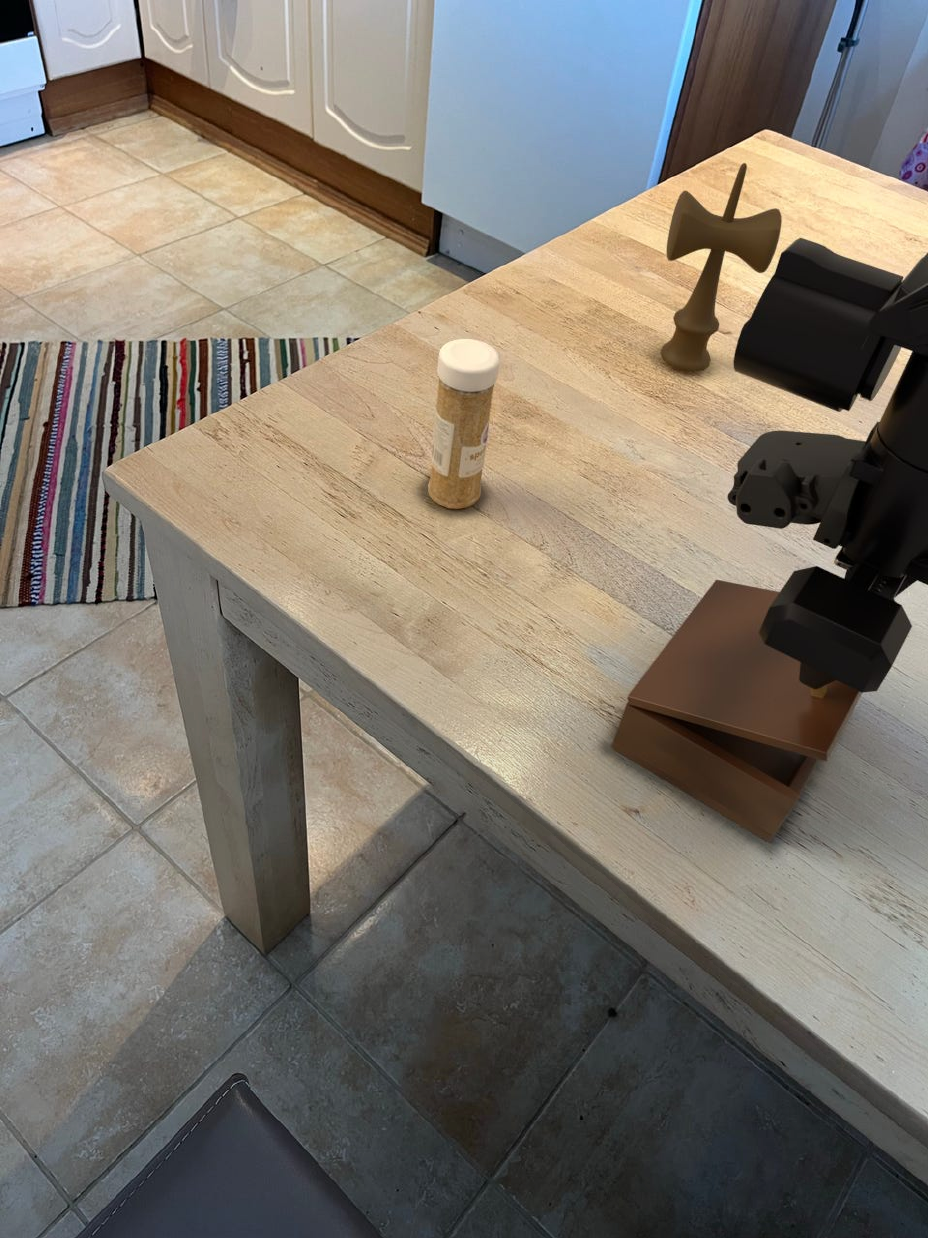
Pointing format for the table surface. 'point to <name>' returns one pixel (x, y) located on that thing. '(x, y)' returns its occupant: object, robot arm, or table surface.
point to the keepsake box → (717, 767)
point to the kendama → (713, 266)
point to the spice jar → (461, 421)
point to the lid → (742, 678)
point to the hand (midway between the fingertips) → (825, 654)
